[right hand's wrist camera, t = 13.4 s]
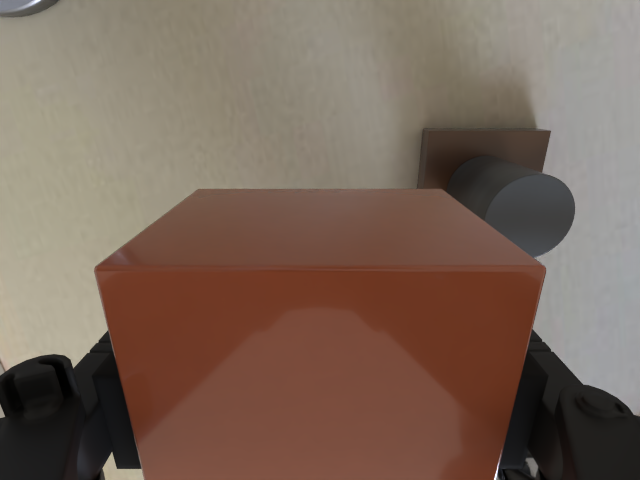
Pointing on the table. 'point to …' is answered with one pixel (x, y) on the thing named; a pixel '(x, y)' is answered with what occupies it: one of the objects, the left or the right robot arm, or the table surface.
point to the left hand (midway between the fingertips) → (471, 405)
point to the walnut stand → (500, 182)
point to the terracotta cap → (320, 336)
